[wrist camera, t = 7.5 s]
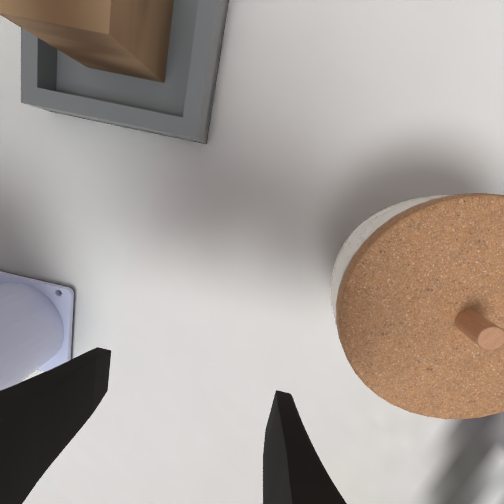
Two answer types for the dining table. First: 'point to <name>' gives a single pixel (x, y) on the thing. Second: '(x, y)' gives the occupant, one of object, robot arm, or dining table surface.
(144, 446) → the dining table surface
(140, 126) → the tray
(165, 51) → the walnut block
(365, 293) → the lidded jar
